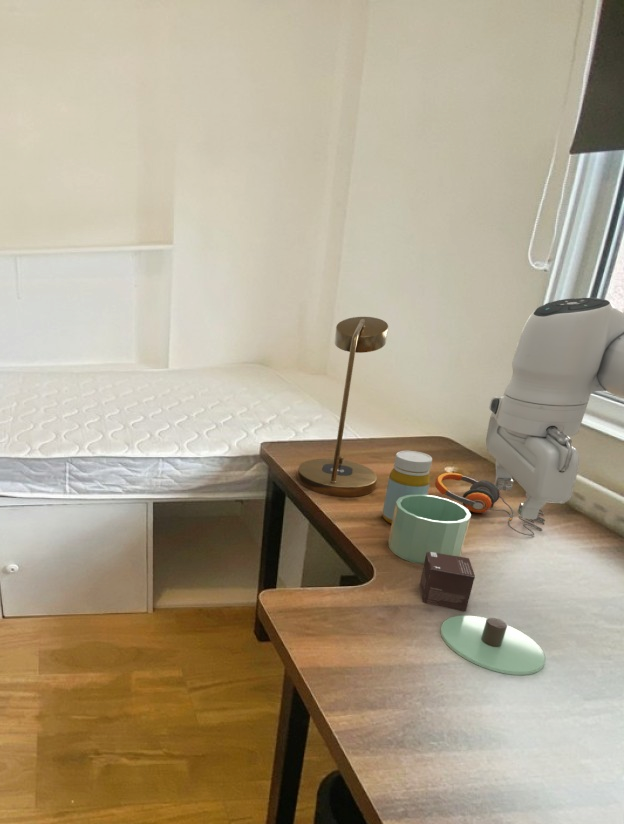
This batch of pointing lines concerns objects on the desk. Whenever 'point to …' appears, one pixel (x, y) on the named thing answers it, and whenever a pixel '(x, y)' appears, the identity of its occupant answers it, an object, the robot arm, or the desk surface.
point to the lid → (493, 645)
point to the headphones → (480, 497)
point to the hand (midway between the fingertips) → (513, 502)
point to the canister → (427, 527)
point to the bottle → (406, 479)
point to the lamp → (337, 472)
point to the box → (446, 581)
